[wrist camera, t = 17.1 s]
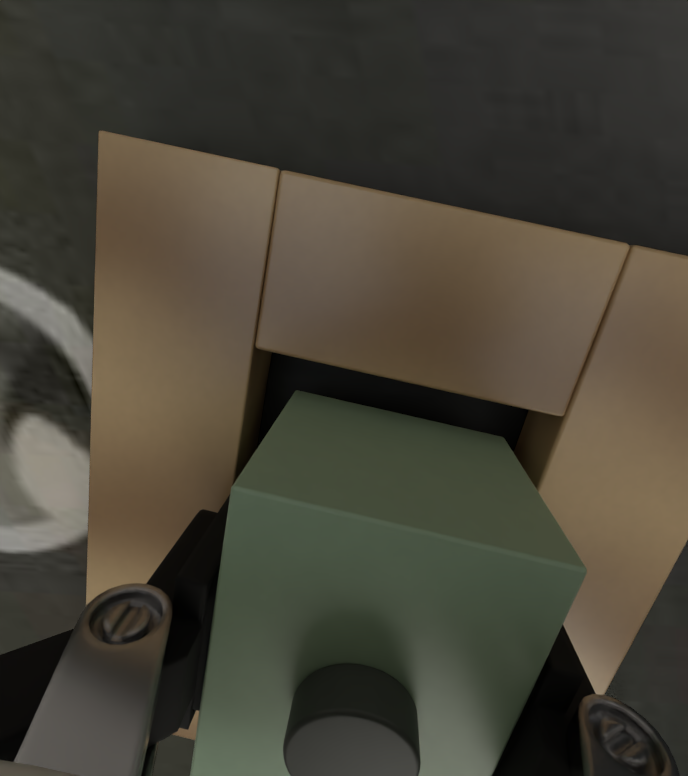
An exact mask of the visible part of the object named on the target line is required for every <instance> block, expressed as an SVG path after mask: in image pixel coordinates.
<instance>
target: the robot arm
mask: <svg viewBox="0 0 688 776" xmlns="http://www.w3.org/2000/svg"><path fill="white" fill-rule="evenodd" d="M229 499H230V495H229V496H228V498H227V499H226V501H225V502H224V504H223V505H222V507H221V508H220V510H219V511H218V513H217V512H213V511H209V510H204V509H202V510H200V511H199V512H198V513H197V514H196V516H195V517H194V518H193V520H192V521H191V522H190V524H189V525H188V527H187V528H186V529H185V531H184V532H183V533H182V535H181V536H180V538H179V539H178V540H177V542H176V543H175V544H174V546H173V547H172V549H171V550H170V551H169V553H168V554H167V555H166V557H165V558H164V560H163V561H162V562H161V564H160V565H159V566H158V568H157V569H156V571H155V572H154V573H153V575H152V576H151V577H150V579H149V580H148V582H147V583H146V584H142V583H132V584H123V585H120V586H117V587H113V588H110V589H108V590H106V591H105V592H103V593H101V594H99V595H97V596H96V597H95V598H94V599H93V600H92V601H90V602H89V603H88V604H87V605H86V607H85V608H84V610H83V611H82V613H81V614H80V616H79V619H78V621H77V623H76V625H75V627H74V629H72V630H69V631H66V632H64V633H61V634H58V635H55V636H52V637H50V638H47V639H44V640H41V641H38V642H36V643H33V644H30V645H27V646H24V647H22V648H19V649H16V650H13V651H10V652H7V653H5V654H2V655H0V776H153V770H154V765H155V760H156V755H157V749H158V744H159V741H161V740H163V739H165V738H167V737H168V736H170V735H172V734H174V733H175V732H177V731H178V729H179V728H182V729H186V730H188V729H189V726H190V724H191V722H192V719H193V717H194V714H195V712H196V710H198V711H199V710H200V703H201V696H202V689H203V682H204V675H205V668H206V661H207V654H208V647H209V640H210V633H211V626H212V619H213V612H214V605H215V598H216V591H217V584H218V577H219V570H220V562H221V555H222V548H223V541H224V534H225V527H226V520H227V513H228V506H229ZM492 776H680V774H679V771H678V768H677V765H676V762H675V760H674V758H673V755H672V753H671V751H670V749H669V747H668V745H667V744H666V742H665V741H664V740H663V738H662V737H661V735H660V734H659V733H658V731H657V730H656V729H655V728H654V727H653V726H652V725H651V724H650V723H649V722H648V721H647V720H646V719H645V718H644V717H643V716H641V715H640V714H639V713H637V712H636V711H635V710H634V709H632V708H631V707H629V706H628V705H626V704H624V703H622V702H621V701H619V700H617V699H615V698H612V697H609V696H606V695H601V694H596V693H595V691H594V689H593V687H592V685H591V683H590V681H589V678H588V676H587V674H586V672H585V670H584V668H583V666H582V664H581V662H580V659H579V657H578V655H577V653H576V651H575V649H574V647H573V645H572V642H571V640H570V638H569V636H568V634H567V632H566V630H565V628H564V625H562V627H561V629H560V631H559V633H558V636H557V638H556V640H555V642H554V644H553V646H552V648H551V651H550V653H549V655H548V657H547V659H546V661H545V663H544V665H543V668H542V670H541V672H540V674H539V676H538V678H537V680H536V683H535V685H534V687H533V689H532V691H531V693H530V695H529V697H528V700H527V702H526V704H525V706H524V708H523V710H522V712H521V715H520V717H519V719H518V721H517V723H516V725H515V727H514V729H513V732H512V734H511V736H510V738H509V740H508V742H507V744H506V747H505V749H504V751H503V753H502V755H501V757H500V759H499V762H498V764H497V766H496V768H495V770H494V772H493V774H492Z"/></svg>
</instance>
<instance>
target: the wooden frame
mask: <svg viewBox="0 0 688 776" xmlns="http://www.w3.org/2000/svg"><path fill="white" fill-rule="evenodd" d="M272 352H273V353H278V354H282V355H287V356H291V357H296V358H300V359H305V360H309V361H313V362H318V363H322V364H327V365H331V366H336V367H340V368H345V369H349V370H353V371H358V372H362V373H367V374H371V375H376V376H380V377H385V378H389V379H394V380H398V381H402V382H407V383H411V384H416V385H420V386H425V387H429V388H434V389H438V390H442V391H447V392H451V393H456V394H460V395H465V396H469V397H474V398H478V399H482V400H487V401H491V402H496V403H500V404H505V405H509V406H514V407H518V408H522V409H527V410H529V411H528V414H527V416H526V419H525V422H524V425H523V427H522V430H521V433H520V436H519V439H518V441H517V444H516V447H515V450H514V452H513V453H514V454H515V456H516V458H517V459H518V461H519V462H520V464H521V465H522V467H523V469H524V470H525V472H526V473H527V475H528V477H529V478H530V480H531V481H532V483H533V484H534V486H535V488H536V489H537V491H538V492H539V494H540V496H541V497H542V499H543V500H544V502H545V503H546V505H547V507H548V508H549V510H550V511H551V513H552V515H553V516H554V518H555V519H556V521H557V522H558V524H559V526H560V527H561V529H562V530H563V532H564V534H565V535H566V537H567V538H568V540H569V541H570V543H571V545H572V546H573V548H574V549H575V551H576V552H577V554H578V556H579V557H580V559H581V560H582V562H583V564H584V565H585V567H586V569H587V574H586V576H585V578H584V580H583V582H582V584H581V586H580V589H579V591H578V593H577V595H576V597H575V599H574V601H573V604H572V606H571V608H570V610H569V612H568V614H567V616H566V618H565V621H564V623H563V625H564V628H565V630H566V632H567V634H568V636H569V638H570V640H571V642H572V645H573V647H574V649H575V651H576V653H577V655H578V657H579V659H580V662H581V664H582V666H583V668H584V670H585V672H586V674H587V676H588V678H589V681H590V683H591V685H592V687H593V689H594V691H595V693H596V694H601V695H604V694H605V692H606V690H607V689H608V687H609V685H610V683H611V681H612V679H613V677H614V676H615V674H616V672H617V670H618V668H619V666H620V664H621V663H622V661H623V659H624V657H625V655H626V653H627V651H628V650H629V648H630V646H631V644H632V642H633V640H634V638H635V637H636V635H637V633H638V631H639V629H640V627H641V625H642V624H643V622H644V620H645V618H646V616H647V614H648V612H649V611H650V609H651V607H652V605H653V603H654V601H655V599H656V598H657V596H658V594H659V592H660V590H661V588H662V586H663V585H664V583H665V581H666V579H667V577H668V575H669V573H670V572H671V570H672V568H673V566H674V564H675V562H676V560H677V559H678V557H679V555H680V553H681V551H682V549H683V547H684V546H685V544H686V542H687V540H688V256H686V255H681V254H676V253H672V252H667V251H662V250H658V249H653V248H648V247H644V246H639V245H628V244H627V243H625V242H620V241H615V240H611V239H606V238H601V237H596V236H592V235H587V234H582V233H578V232H573V231H568V230H564V229H559V228H554V227H550V226H545V225H540V224H536V223H531V222H526V221H522V220H517V219H512V218H508V217H503V216H498V215H493V214H489V213H484V212H479V211H475V210H470V209H465V208H461V207H456V206H451V205H447V204H442V203H437V202H433V201H428V200H423V199H419V198H414V197H409V196H405V195H400V194H395V193H390V192H386V191H381V190H376V189H372V188H367V187H362V186H358V185H353V184H348V183H344V182H339V181H334V180H330V179H325V178H320V177H316V176H311V175H306V174H302V173H297V172H292V171H288V170H284V171H281V170H279V169H278V168H275V167H270V166H266V165H261V164H256V163H252V162H247V161H242V160H238V159H233V158H228V157H224V156H219V155H214V154H210V153H205V152H200V151H196V150H191V149H186V148H181V147H177V146H172V145H167V144H163V143H158V142H153V141H149V140H144V139H139V138H135V137H130V136H125V135H121V134H116V133H111V132H107V131H102V130H101V131H99V140H98V177H97V214H96V252H95V289H94V327H93V364H92V401H91V439H90V476H89V514H88V551H87V588H86V605H87V604H88V603H89V602H90V601H92V600H93V599H94V598H95V597H96V596H97V595H99V594H101V593H103V592H105V591H106V590H108V589H110V588H113V587H117V586H120V585H123V584H132V583H142V584H146V583H147V582H148V580H149V579H150V577H151V576H152V575H153V573H154V572H155V571H156V569H157V568H158V566H159V565H160V564H161V562H162V561H163V560H164V558H165V557H166V555H167V554H168V553H169V551H170V550H171V549H172V547H173V546H174V544H175V543H176V542H177V540H178V539H179V538H180V536H181V535H182V533H183V532H184V531H185V529H186V528H187V527H188V525H189V524H190V522H191V521H192V520H193V518H194V517H195V516H196V514H197V513H198V512H199V511H200V510H202V509H204V510H209V511H213V512H217V513H218V511H219V510H220V508H221V507H222V505H223V504H224V502H225V501H226V499H227V498H228V496H229V495H230V492H231V487H232V486H233V484H234V483H235V481H236V480H237V478H238V477H239V475H240V474H241V472H242V471H243V469H244V468H245V466H246V465H247V463H248V462H249V460H250V459H251V457H252V456H253V454H254V453H255V451H256V449H257V444H258V438H259V431H260V425H261V419H262V412H263V406H264V400H265V393H266V387H267V381H268V375H269V368H270V362H271V356H272ZM198 717H199V711H198V710H196V712H195V714H194V717H193V719H192V722H191V724H190V726H189V729H188V730H186V729H182V728H179V729H178V731H177V732H175V733H174V734H173V735H177V736H181V737H185V738H189V739H193V740H195V738H196V731H197V724H198Z"/></svg>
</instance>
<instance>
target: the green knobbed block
mask: <svg viewBox="0 0 688 776" xmlns="http://www.w3.org/2000/svg"><path fill="white" fill-rule="evenodd" d="M586 574H587V569H586V567H585V565H584V564H583V562H582V560H581V559H580V557H579V556H578V554H577V552H576V551H575V549H574V548H573V546H572V545H571V543H570V541H569V540H568V538H567V537H566V535H565V534H564V532H563V530H562V529H561V527H560V526H559V524H558V522H557V521H556V519H555V518H554V516H553V515H552V513H551V511H550V510H549V508H548V507H547V505H546V503H545V502H544V500H543V499H542V497H541V496H540V494H539V492H538V491H537V489H536V488H535V486H534V484H533V483H532V481H531V480H530V478H529V477H528V475H527V473H526V472H525V470H524V469H523V467H522V465H521V464H520V462H519V461H518V459H517V458H516V456H515V454H514V453H513V451H512V450H511V448H510V447H509V445H508V443H507V442H506V440H505V439H504V438H503V437H501V436H496V435H492V434H488V433H483V432H479V431H474V430H470V429H466V428H461V427H457V426H452V425H448V424H444V423H439V422H435V421H430V420H426V419H422V418H417V417H413V416H408V415H404V414H400V413H395V412H391V411H387V410H382V409H378V408H373V407H369V406H365V405H360V404H356V403H351V402H347V401H343V400H338V399H334V398H329V397H325V396H321V395H316V394H312V393H307V392H303V391H299V390H296V391H295V392H294V393H293V395H292V397H291V398H290V400H289V401H288V403H287V404H286V406H285V407H284V409H283V410H282V412H281V413H280V415H279V416H278V418H277V419H276V421H275V422H274V424H273V425H272V427H271V428H270V430H269V431H268V433H267V434H266V436H265V437H264V439H263V440H262V442H261V443H260V445H259V446H258V448H257V449H256V451H255V453H254V454H253V456H252V457H251V459H250V460H249V462H248V463H247V465H246V466H245V468H244V469H243V471H242V472H241V474H240V475H239V477H238V478H237V480H236V481H235V483H234V484H233V486H232V487H231V492H230V499H229V506H228V513H227V520H226V527H225V534H224V541H223V548H222V555H221V562H220V570H219V577H218V584H217V591H216V598H215V605H214V612H213V619H212V626H211V633H210V640H209V647H208V654H207V661H206V668H205V675H204V682H203V689H202V696H201V703H200V710H199V717H198V724H197V731H196V738H195V745H194V752H193V759H192V766H191V773H190V776H492V774H493V772H494V770H495V768H496V766H497V764H498V762H499V759H500V757H501V755H502V753H503V751H504V749H505V747H506V744H507V742H508V740H509V738H510V736H511V734H512V732H513V729H514V727H515V725H516V723H517V721H518V719H519V717H520V715H521V712H522V710H523V708H524V706H525V704H526V702H527V700H528V697H529V695H530V693H531V691H532V689H533V687H534V685H535V683H536V680H537V678H538V676H539V674H540V672H541V670H542V668H543V665H544V663H545V661H546V659H547V657H548V655H549V653H550V651H551V648H552V646H553V644H554V642H555V640H556V638H557V636H558V633H559V631H560V629H561V627H562V625H563V623H564V621H565V618H566V616H567V614H568V612H569V610H570V608H571V606H572V604H573V601H574V599H575V597H576V595H577V593H578V591H579V589H580V586H581V584H582V582H583V580H584V578H585V576H586Z"/></svg>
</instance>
